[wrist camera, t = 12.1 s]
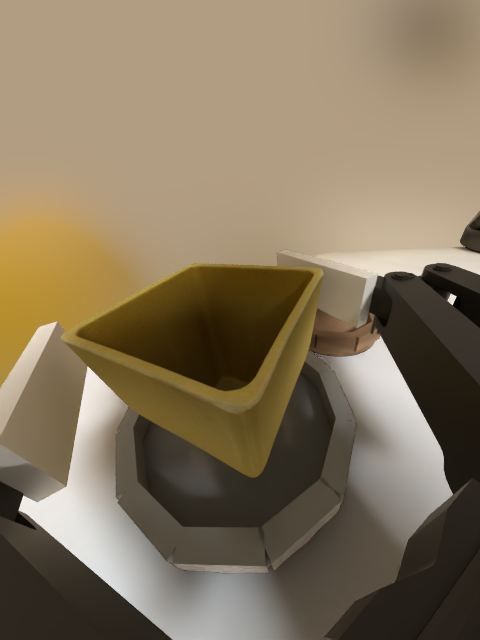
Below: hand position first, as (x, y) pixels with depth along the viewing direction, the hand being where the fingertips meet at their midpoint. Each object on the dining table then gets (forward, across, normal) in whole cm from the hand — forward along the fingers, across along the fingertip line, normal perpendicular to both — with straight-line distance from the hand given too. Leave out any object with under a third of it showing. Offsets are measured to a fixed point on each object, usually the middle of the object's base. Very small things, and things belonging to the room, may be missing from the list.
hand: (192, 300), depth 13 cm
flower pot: (-3, 0, -8) cm, 8 cm away
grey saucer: (-3, 0, -8) cm, 9 cm away
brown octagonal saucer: (0, +12, -8) cm, 15 cm away
